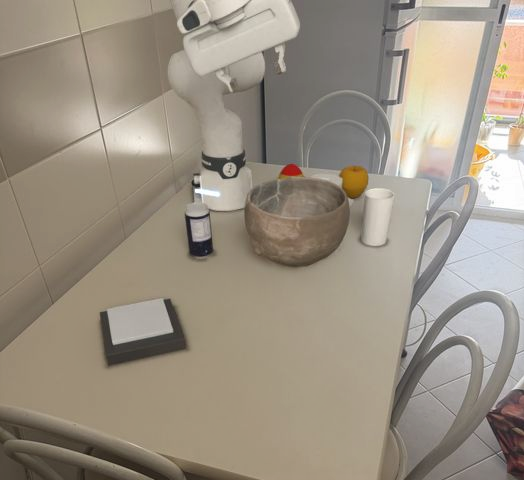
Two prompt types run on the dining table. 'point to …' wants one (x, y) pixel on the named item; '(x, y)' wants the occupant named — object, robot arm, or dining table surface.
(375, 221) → the mug
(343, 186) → the apple
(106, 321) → the scale
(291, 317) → the dining table surface
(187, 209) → the beverage can
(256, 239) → the bowl
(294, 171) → the decorative egg
